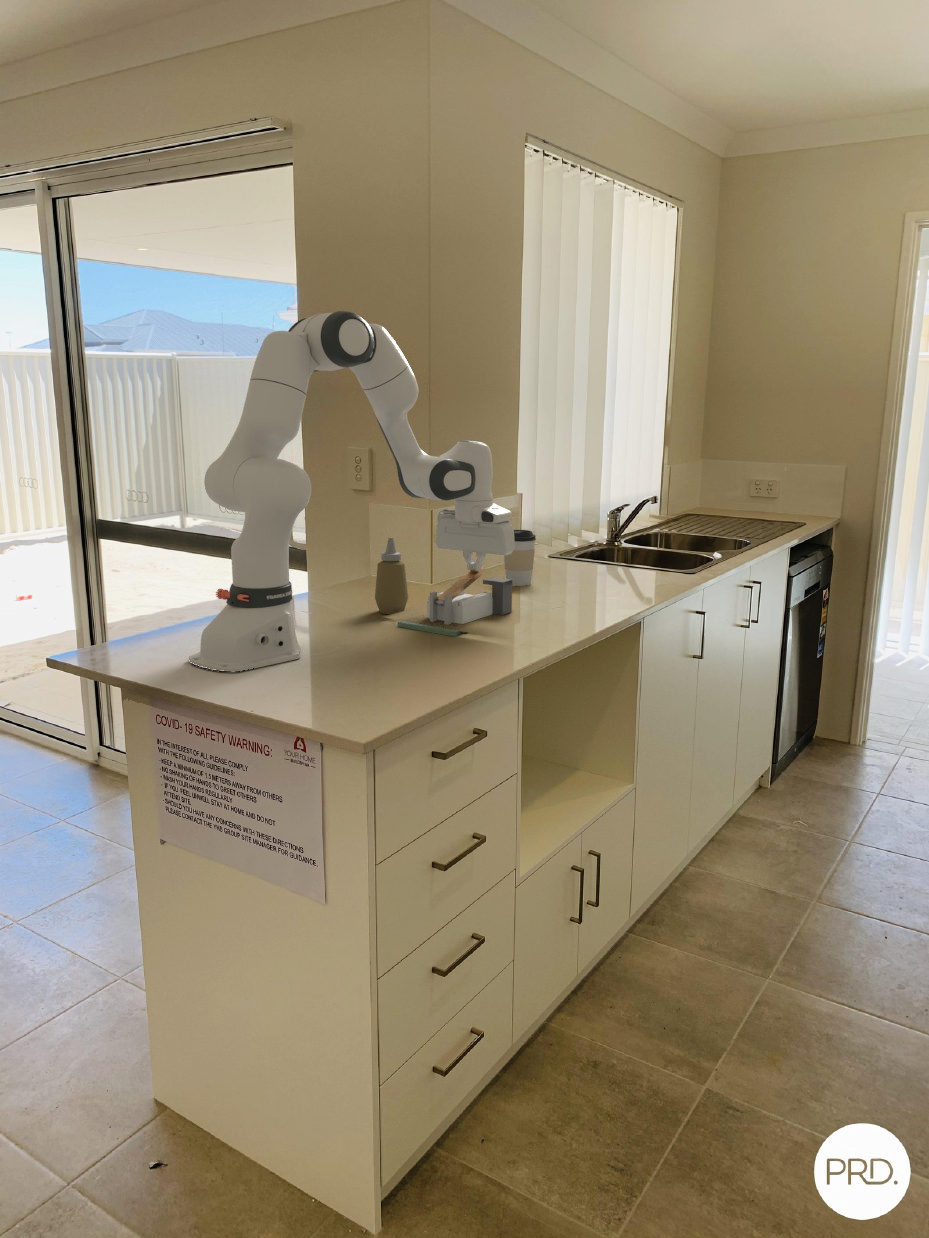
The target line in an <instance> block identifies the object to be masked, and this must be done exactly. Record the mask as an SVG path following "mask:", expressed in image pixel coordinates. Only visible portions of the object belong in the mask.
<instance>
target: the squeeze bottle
mask: <svg viewBox="0 0 929 1238" xmlns="http://www.w3.org/2000/svg"><path fill="white" fill-rule="evenodd" d="M394 539H395V538H394V537H388V538H387V543H386V548H385V549H386V550H385V551H383V552H381V555H380V557H381V558H380V559H381V561H379V562H378V563H377V568H376V581H375V592H374V593H375V594H374V599H375V603H376V605H377V608H378V610H379V613H381V614H383V615H384V614H385V615H392V614H393V615H394V614H396V613H401V612H403V611H405V609H406V605H407V603H408V600H409V591H408V583H407V574H406V573H407V572H406V566H405V562H404V561H402V556H401V555H402V553H401V552H399V551H397V547H396V545H395V544H396V543H395V540H394Z"/></svg>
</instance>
